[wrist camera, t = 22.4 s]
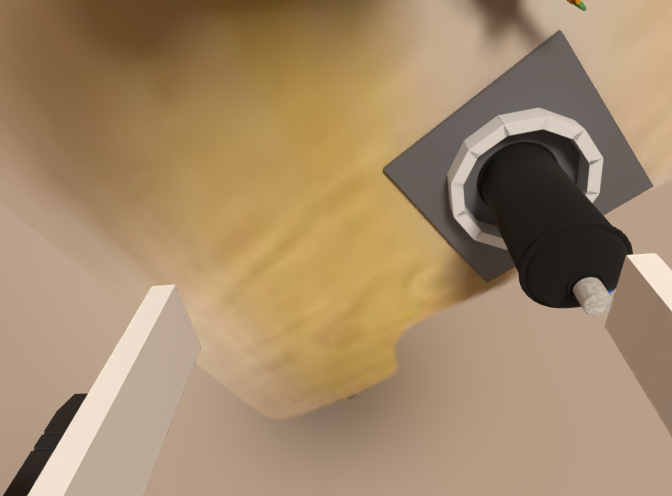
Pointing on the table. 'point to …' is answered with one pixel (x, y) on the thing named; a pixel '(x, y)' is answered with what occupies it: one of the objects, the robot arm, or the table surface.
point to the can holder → (511, 127)
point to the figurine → (578, 4)
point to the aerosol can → (552, 230)
